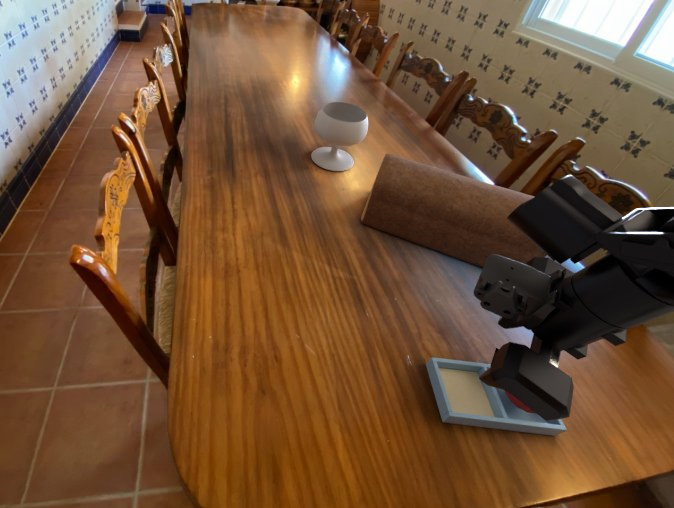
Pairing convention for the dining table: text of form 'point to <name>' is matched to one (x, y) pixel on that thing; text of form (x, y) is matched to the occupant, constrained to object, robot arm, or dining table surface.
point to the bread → (447, 212)
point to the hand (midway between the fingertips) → (492, 351)
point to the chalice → (339, 134)
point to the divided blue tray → (480, 400)
